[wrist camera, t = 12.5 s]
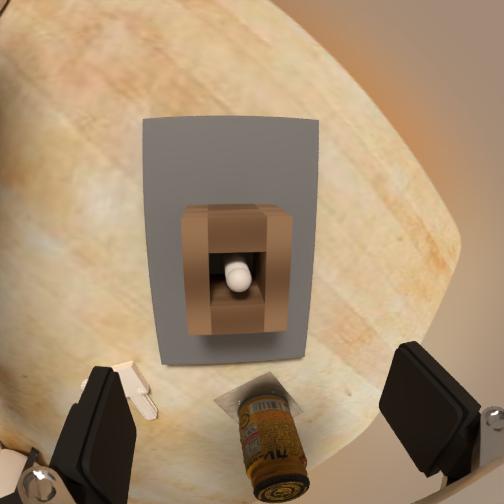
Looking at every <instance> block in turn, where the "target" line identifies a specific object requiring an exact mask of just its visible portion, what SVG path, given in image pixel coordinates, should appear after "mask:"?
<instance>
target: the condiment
mask: <svg viewBox="0 0 504 504" xmlns="http://www.w3.org/2000/svg"><path fill="white" fill-rule="evenodd" d="M273 391H274V392H273ZM239 400H240V402H239ZM214 401H215V402H216V404H217V405H218V406H220V407H221V408H222V409H223V410H224V411H225V412H226V413H227V414H228V415H229V416H230V417H231V418H233V419H234V420H235V421H236V422H237V423H238V424H239V430H240V437H241V439H240V441H241V444H242V450H243V456H244V464H245V467H246V473H247V475H248V477H249V478H250V479H251V483H252V486H253V489H254V492H253V493H254V495H255V497H256V498H257V499H258V500H260V501H262V502H266V503H282V502H287V501H291V500H293V499H296V498H298V497H300V496H301V495H303V494H304V493H305V492H306V491H307V490H308V489H309V485H310V481H309V478H308V477H307V471H306V466H307V460H306V457H305V454H304V451H303V448H302V445H301V442H300V439H299V436H298V433H297V430H296V427H295V424H294V421H293V417H295V416H297V415H299V414H301V413H302V412H304V411H303V410H302V409H301V408H300V407H299V405H298V404H297V403H296V402H295V401H294V399H293V398H292V397H291V396H290V395H289V394H288V392H287V391H286V390H285V389H284V388H283V386H282V385H281V384H280V383H279V381H278V380H277V379H276V378H275V377H274V376H273V374H272V373H271V372H269V373H267V374H265V375H262V376H260V377H258V378H256V379H254V380H252V381H250V382H248V383H246V384H244V385H242V386H240V387H238V388H235V389H234V390H233V391H231V392H229V393H226V394H224V395H222V396H221V397H219V398H217V399H215V400H214ZM239 403H240V405H238V404H239Z"/></svg>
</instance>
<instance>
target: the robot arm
mask: <svg viewBox="0 0 504 504" xmlns="http://www.w3.org/2000/svg"><path fill="white" fill-rule="evenodd" d="M6 2H7V0H0V11H1V10H2V8H3V6H4V5H5V3H6ZM480 408H481V405H480V404H479V403H478V402H477V401H476V400H475V399H474V398H473V397H472V396H471V395H470V394H469V393H468V392H467V391H466V390H465V389H464V388H463V387H462V386H461V385H460V384H459V383H458V382H457V381H456V380H455V379H454V378H453V377H452V376H451V375H450V374H449V373H448V372H447V371H446V370H445V369H444V368H443V367H442V366H441V365H440V364H439V363H438V362H437V361H436V360H435V359H434V358H433V357H432V356H431V355H430V354H429V353H428V352H427V351H426V350H425V349H424V348H423V347H422V346H421V345H420V344H419V343H417V342H416V341H412V342H407V343H402V344H400V345H399V347H398V349H396V351H395V353H394V357H393V360H392V364H391V367H390V370H389V374H388V377H387V380H386V383H385V386H384V389H383V392H382V395H381V398H380V401H379V409H380V411H381V413H382V414H383V416H384V417H385V419H386V420H387V422H388V423H389V425H390V426H391V428H392V429H393V431H394V432H395V434H396V436H397V437H398V439H399V440H400V441H401V443H402V445H403V446H404V448H405V449H406V451H407V452H408V454H409V455H410V457H411V459H412V460H413V462H414V463H415V465H416V466H417V468H418V469H419V471H420V472H424V474H425V475H426V477H427V478H428V477H430V476H432V475H434V474H437V473H438V472H439V471H440V470H441V471H442V473H443V477H442V483H441V488H440V490H439V491H437V492H435V493H433V494H431V495H429V496H427V497H425V498H423V499H421V500H418V501H416V502H414V503H412V504H504V409H502V408H500V407H493V406H492V407H488V408H486V409H485V410H484V411H483V412H482V413H481V414H480V413H479V410H480ZM135 442H136V426H135V423H134V420H133V417H132V415H131V412H130V409H129V405H128V402H127V399H126V396H125V393H124V389H123V386H122V383H121V379H120V376H119V373H118V372H114V371H113V369H112V367H101V366H95V367H94V368H93V369H92V372H91V374H90V376H89V379H88V381H87V383H86V386H85V388H84V390H83V393H82V395H81V398H80V400H79V403H78V404H77V403H75V404H73V405H72V407H71V409H70V411H69V414H68V416H67V419H66V421H65V424H64V426H63V429H62V431H61V434H60V437H59V439H58V442H57V445H56V447H55V450H54V453H53V456H52V458H51V461H50V464H49V467H45V466H34V467H30V468H29V469H27V470H25V471H24V472H23V473H22V474H21V475H20V477H19V480H18V485H17V488H18V491H16V492H13V493H11V494H9V495H6V496H4V497H2V498H0V504H127V500H128V491H129V483H130V476H131V468H132V461H133V455H134V448H135Z"/></svg>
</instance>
